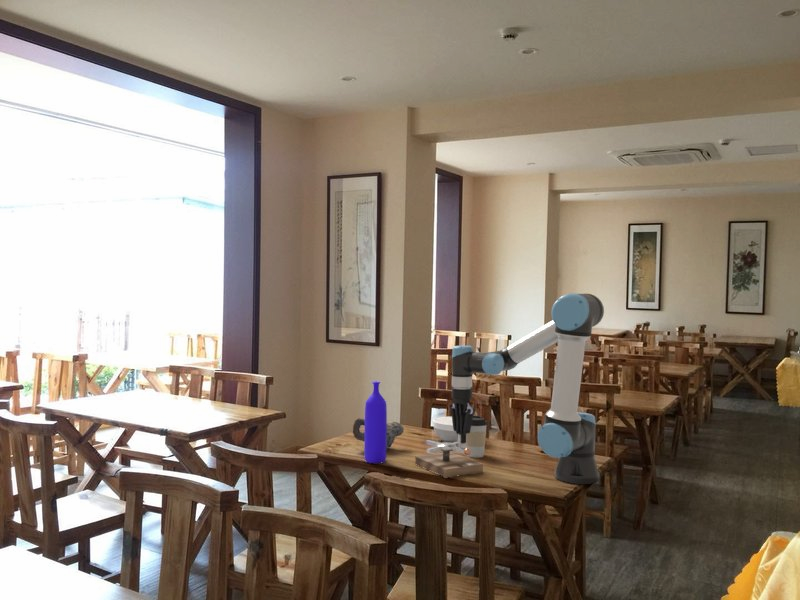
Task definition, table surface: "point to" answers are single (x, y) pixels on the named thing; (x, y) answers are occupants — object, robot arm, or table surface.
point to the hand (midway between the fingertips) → (461, 451)
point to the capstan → (446, 447)
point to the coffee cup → (476, 437)
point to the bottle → (375, 427)
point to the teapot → (392, 431)
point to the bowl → (445, 429)
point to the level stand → (449, 464)
